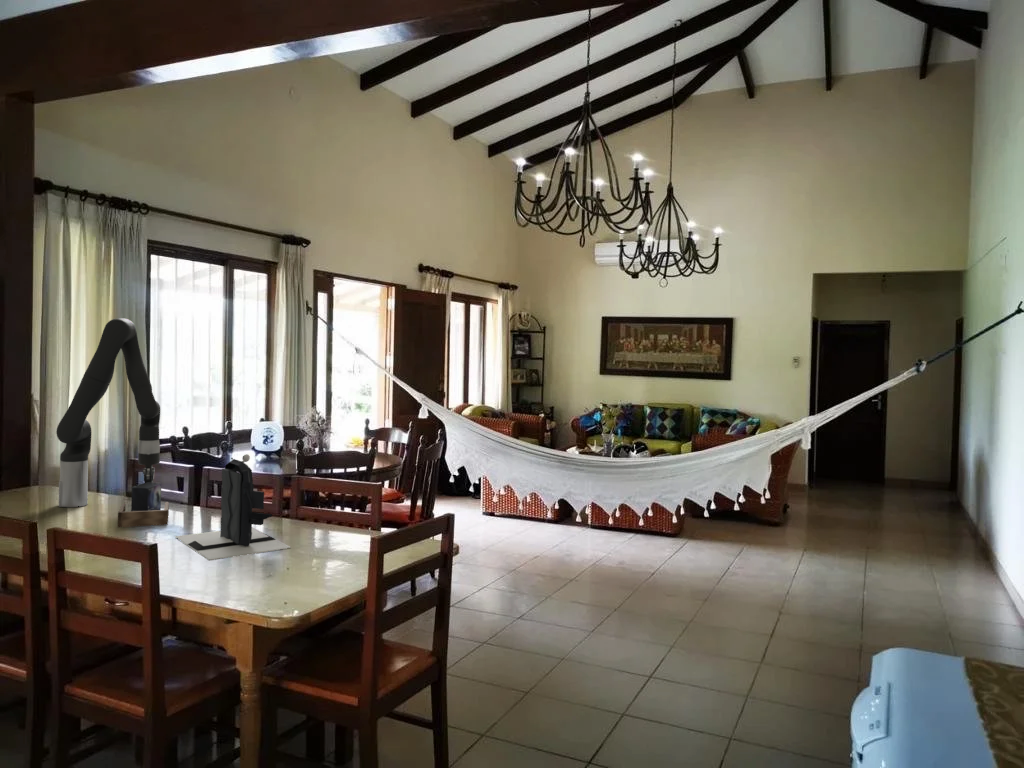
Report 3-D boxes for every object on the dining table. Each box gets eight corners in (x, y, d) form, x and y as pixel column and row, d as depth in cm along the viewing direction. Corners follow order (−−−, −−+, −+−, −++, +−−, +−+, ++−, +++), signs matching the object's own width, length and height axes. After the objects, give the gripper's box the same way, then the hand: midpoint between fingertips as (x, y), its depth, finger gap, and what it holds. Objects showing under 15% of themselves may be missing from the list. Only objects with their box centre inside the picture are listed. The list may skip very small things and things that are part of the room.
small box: (147, 516, 276) (148, 487, 276) (130, 515, 276) (130, 487, 276) (161, 510, 287) (162, 482, 286) (144, 509, 287) (145, 482, 286)
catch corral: (117, 527, 258) (118, 512, 258) (121, 517, 272) (121, 504, 272) (167, 524, 264) (167, 510, 264) (168, 515, 278) (168, 502, 278)
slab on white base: (174, 538, 247) (176, 451, 246) (251, 528, 264) (253, 447, 263) (209, 561, 223) (211, 464, 222) (291, 548, 240) (293, 459, 238)
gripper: (139, 449, 297) (139, 493, 298) (137, 454, 285) (136, 499, 286) (160, 449, 300) (160, 492, 301) (159, 453, 288) (158, 498, 288)
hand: (148, 496), depth 293 cm, fingers closed
